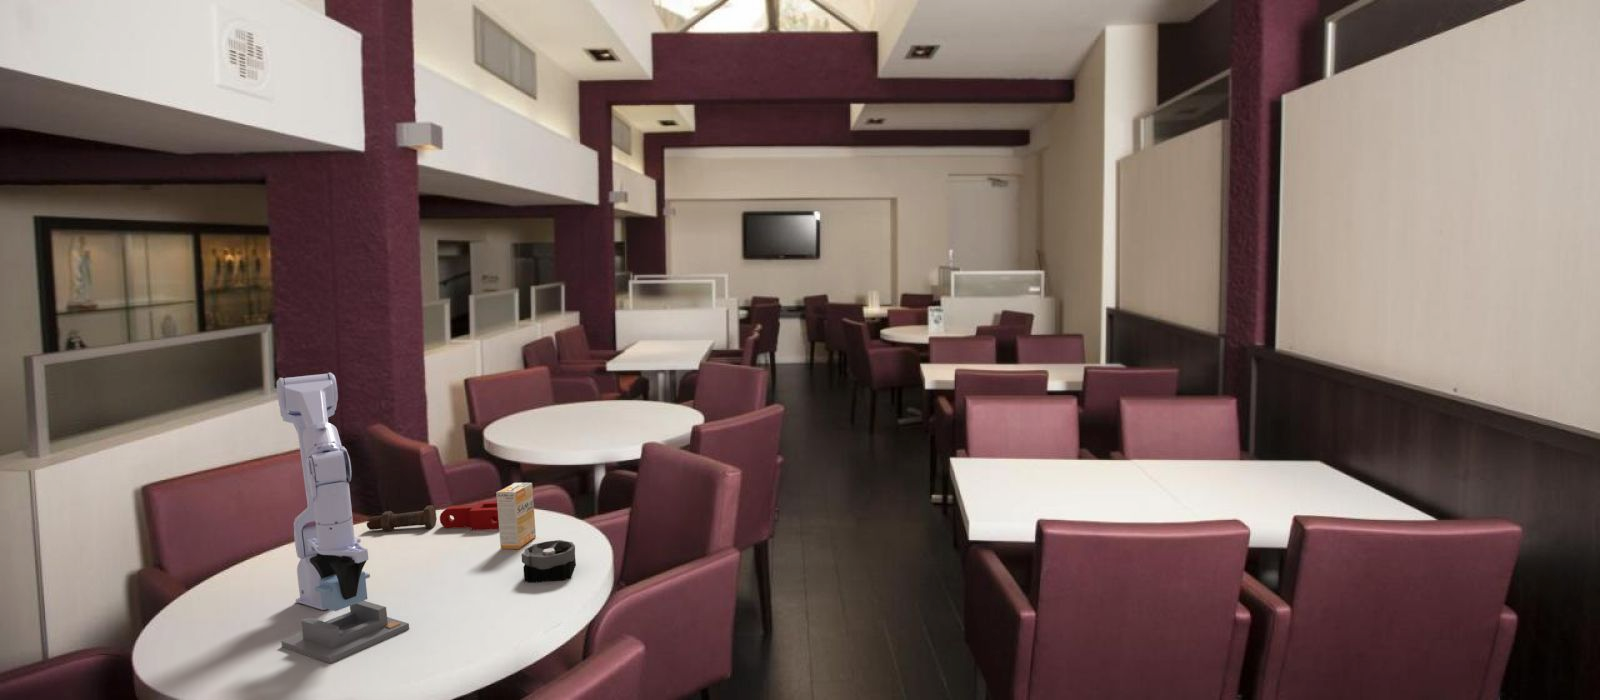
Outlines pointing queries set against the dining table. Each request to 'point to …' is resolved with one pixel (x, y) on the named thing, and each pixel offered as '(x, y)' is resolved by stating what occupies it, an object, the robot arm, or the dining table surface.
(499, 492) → the supplement box
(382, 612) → the board
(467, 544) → the dining table surface
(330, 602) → the block
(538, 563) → the cpu cooler
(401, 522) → the bolt
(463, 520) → the mechanical linkage
